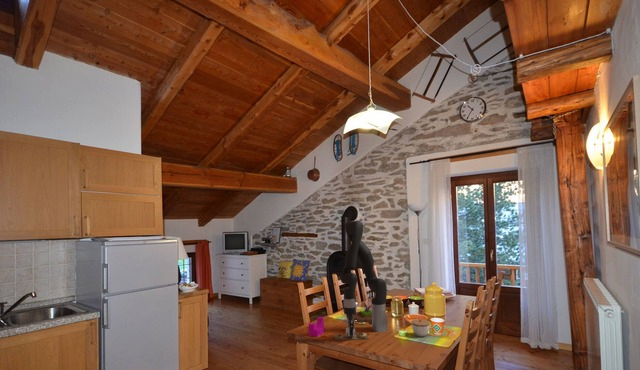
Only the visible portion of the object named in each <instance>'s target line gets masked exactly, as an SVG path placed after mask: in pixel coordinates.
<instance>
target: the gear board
mask: <svg viewBox="0 0 640 370" xmlns="http://www.w3.org/2000/svg"><path fill="white" fill-rule="evenodd" d="M334 339H335V340H334ZM369 339H370V338H369V336H368V333H365V332H358V333H357V334H355V335H354V336H347V335H346V334H345V335H344V334H343V333H340V334H339V333H338V334H337V333H336V334H335V335H333V340H334V342H340V341H339V340H342V341H341V342H344V341H343V340H346V341H359V340H360V341H365V340H369Z"/></svg>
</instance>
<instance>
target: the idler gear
mask: <svg viewBox="0 0 640 370" xmlns="http://www.w3.org/2000/svg"><path fill="white" fill-rule="evenodd" d="M345 335H347V336H350V335H349V327H348V326H347V327H346V328H345ZM354 335H356V327H354V329H353V336H354Z"/></svg>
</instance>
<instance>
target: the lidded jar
mask: <svg viewBox="0 0 640 370" xmlns="http://www.w3.org/2000/svg"><path fill="white" fill-rule="evenodd" d="M411 329H412V331H413V333H414V334H415V335H416V336H418V337H426V336H427V335H428V333H429V331H430V322H429V320H427V319H422V318H415V319H414V320H413V319H412V321H411Z"/></svg>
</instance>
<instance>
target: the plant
mask: <svg viewBox="0 0 640 370" xmlns="http://www.w3.org/2000/svg"><path fill="white" fill-rule="evenodd" d="M361 306H362V307H364V308H363V309H361V310H359V311H356V314H354V315H353V317H354V320H357V321H358V324H359V323H360V324H361V323H362V324H363V322H365V323H367V324H368V323H369V324H372V308H371V307H372V306H371V304H370V305H369V306H367V304H366V303H362V304H361ZM370 308H371V309H370ZM357 321H356V322H357Z"/></svg>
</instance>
